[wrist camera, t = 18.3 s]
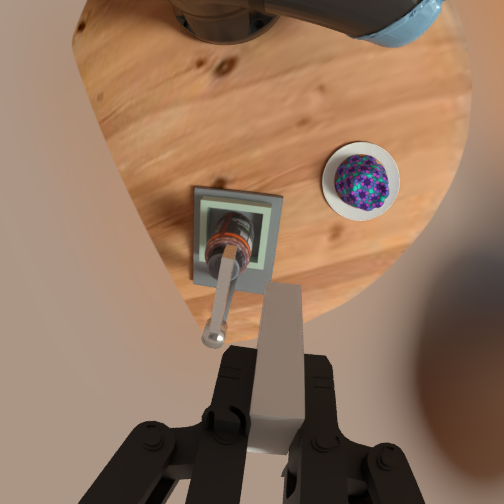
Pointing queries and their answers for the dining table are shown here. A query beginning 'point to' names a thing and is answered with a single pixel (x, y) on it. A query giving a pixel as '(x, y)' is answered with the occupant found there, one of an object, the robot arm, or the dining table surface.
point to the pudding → (361, 181)
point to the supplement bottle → (230, 243)
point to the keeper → (220, 301)
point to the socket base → (265, 238)
